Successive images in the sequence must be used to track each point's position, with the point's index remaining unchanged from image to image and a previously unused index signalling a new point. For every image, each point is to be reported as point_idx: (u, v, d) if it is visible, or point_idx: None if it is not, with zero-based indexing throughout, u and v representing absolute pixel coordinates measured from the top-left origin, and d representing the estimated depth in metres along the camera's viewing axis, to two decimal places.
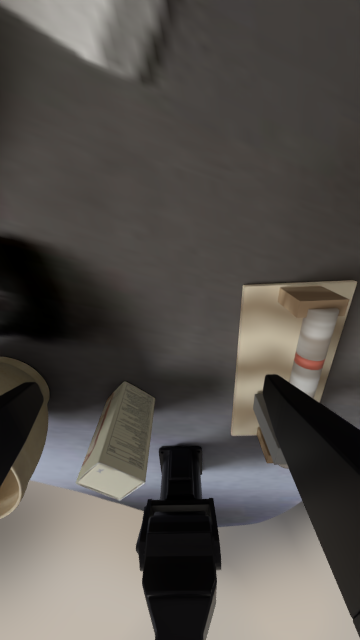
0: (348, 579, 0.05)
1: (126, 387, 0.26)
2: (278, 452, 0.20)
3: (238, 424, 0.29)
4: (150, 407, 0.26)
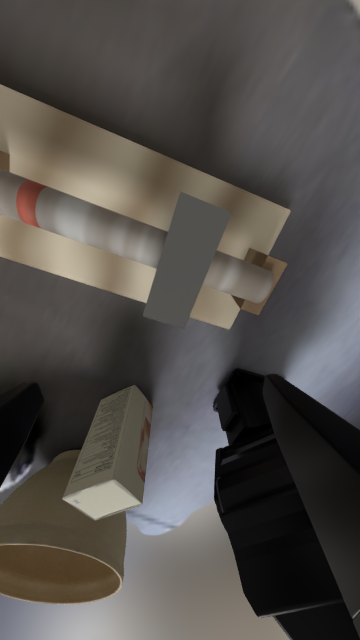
0: (348, 579, 0.05)
1: (101, 404, 0.25)
2: (152, 317, 0.12)
3: (210, 315, 0.20)
4: (127, 398, 0.23)
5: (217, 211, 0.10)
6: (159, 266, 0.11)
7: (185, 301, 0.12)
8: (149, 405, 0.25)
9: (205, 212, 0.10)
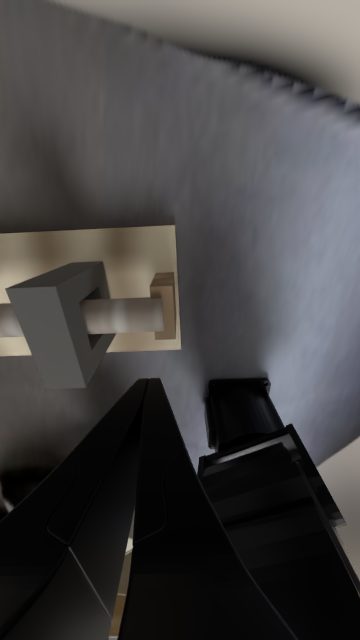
0: None
1: None
2: (54, 387, 0.13)
3: (156, 343, 0.20)
4: None
5: (43, 290, 0.10)
6: (31, 348, 0.12)
7: (70, 366, 0.12)
8: None
9: (34, 295, 0.11)
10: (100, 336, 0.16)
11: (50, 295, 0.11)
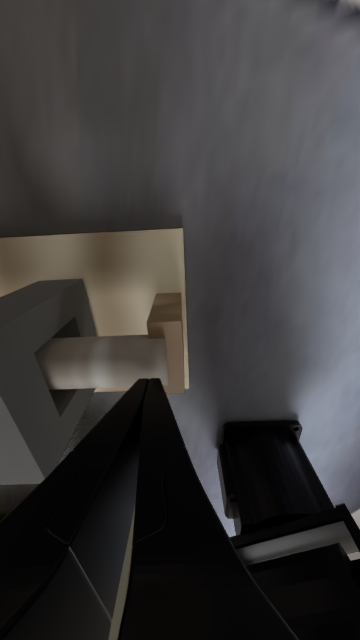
0: None
1: None
2: None
3: None
4: None
5: None
6: None
7: (19, 457, 0.08)
8: None
9: None
10: None
11: None
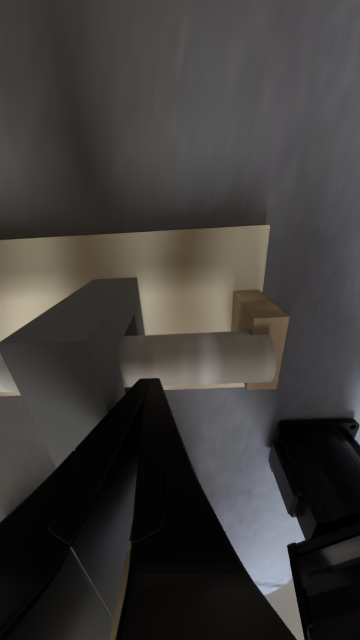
0: None
1: None
2: None
3: None
4: None
5: (65, 347, 0.06)
6: (41, 430, 0.07)
7: None
8: None
9: (49, 354, 0.06)
10: None
11: (77, 354, 0.06)
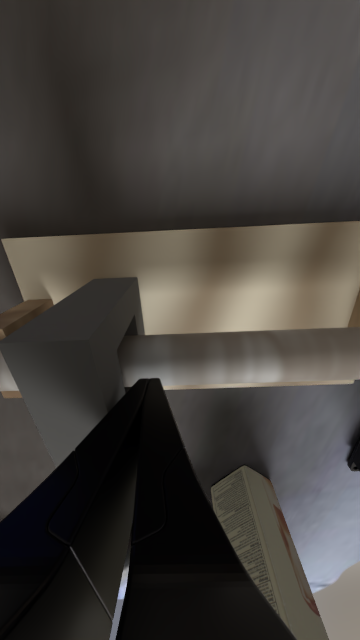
0: None
1: (214, 495, 0.21)
2: None
3: None
4: (244, 488, 0.19)
5: (66, 346, 0.06)
6: (41, 430, 0.07)
7: None
8: (267, 482, 0.21)
9: (50, 354, 0.06)
10: None
11: (78, 354, 0.06)
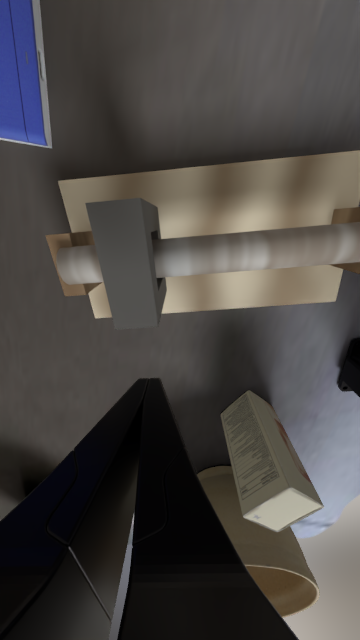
0: None
1: (223, 418, 0.25)
2: (124, 327, 0.12)
3: (310, 294, 0.19)
4: (249, 405, 0.23)
5: (126, 203, 0.10)
6: (104, 278, 0.11)
7: (144, 300, 0.11)
8: (269, 405, 0.25)
9: (116, 210, 0.10)
10: (159, 283, 0.15)
11: (133, 209, 0.10)
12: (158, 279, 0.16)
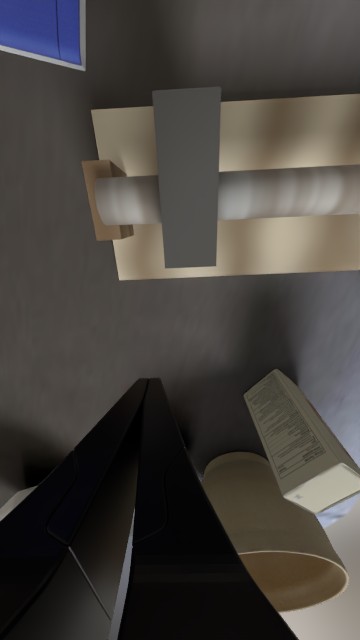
0: None
1: (248, 398, 0.23)
2: (176, 265, 0.10)
3: (356, 260, 0.17)
4: (278, 382, 0.21)
5: (203, 94, 0.08)
6: (162, 199, 0.09)
7: (205, 230, 0.10)
8: (296, 386, 0.23)
9: (189, 103, 0.08)
10: None
11: (210, 103, 0.08)
12: None
